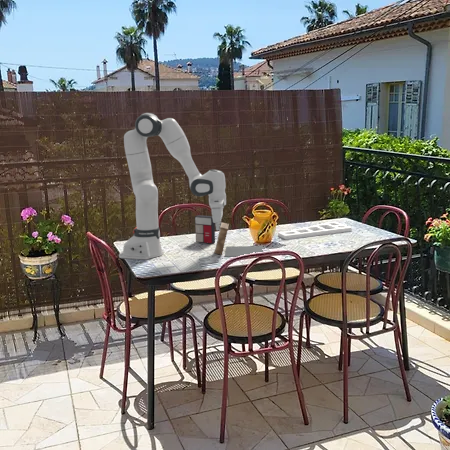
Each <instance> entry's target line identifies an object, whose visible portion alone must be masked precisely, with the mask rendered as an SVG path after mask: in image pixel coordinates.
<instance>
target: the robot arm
mask: <svg viewBox="0 0 450 450" xmlns="http://www.w3.org/2000/svg"><path fill="white" fill-rule="evenodd" d="M134 126H135V127H134V129H131V130H128V131H126V132H125V133H124V135H123V145H124V152H125V153H124V154H125V157H126V161H127V165H128V166H127V167H128V170H129V176H130V182H131V186H132V191H133V194H134V196H135V220H136V221H135V222H136V227H135V228H133V230H132V234H133V235H132V236H131V237H130V238H128V240H127V241H126V242H125V243H124V245H123V249H122V250H121V251H120V253H119V254H118V257H119V258H120V259H128V260H129V259H131V260H132V259H133V260H149V259H152V258H158V257H160V256H162V255H164V251H163V248H162V245H161V244H162V243H161V232H160V230H161V229H160V227H159V215H158V213H159V211H158V210H159V189H158V187H157V185H156V184H155V183H154V177H153V176H154V175H153V169H152V163H151V159H150V154H149V149H148V144H147V140H148V138H150V137H151V138H152V137H156V136H158V137H160V138H161V140H162V142H163V143H164V145H165V147H166V148H165V149H166V150H168V151H167V152H169V154H170V155H171V156H172V157H173V158H174V159H176V160H177V161H178V163H180V165H181V167H182V168H183V170H184V172H185V174H186V176H187V177H188V187H189V189H190V192H191V193H192V195H194V196H196V197H204V196H208V205H209V208H210V209H211V216H212V219H213V223H215V231H219V230H220V226H221V223H222V219H223V213H224V211H223V210H224V208H225V206H226V205H227V194H226V188H227V187H226V177H225V173H224V172H223V171H222V170H220V169H219V170H218V169H209V170H208V171H207V172H205V173H204V174H202V173H201V172H200V171H199V169H198V167H197V166H196V163H195V162H194V160H193V157H192V154H191V146H190V143H189V141H188V138H187V136H186V133H185V132H184V130H183V128H182V126H180V125H179V123H178V121H177V120H176V119H174V118H172V117H167V118H165V119H162V120H161V119H160V118H159V117H158V116H157V115H156V114H155V113H153V112H145V113H142V114H140V116H138V117H137V118H136V120H135V122H134Z"/></svg>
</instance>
